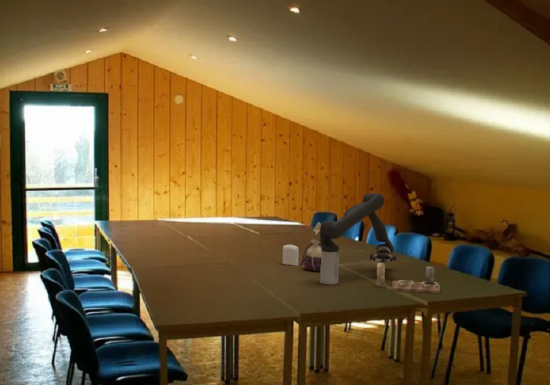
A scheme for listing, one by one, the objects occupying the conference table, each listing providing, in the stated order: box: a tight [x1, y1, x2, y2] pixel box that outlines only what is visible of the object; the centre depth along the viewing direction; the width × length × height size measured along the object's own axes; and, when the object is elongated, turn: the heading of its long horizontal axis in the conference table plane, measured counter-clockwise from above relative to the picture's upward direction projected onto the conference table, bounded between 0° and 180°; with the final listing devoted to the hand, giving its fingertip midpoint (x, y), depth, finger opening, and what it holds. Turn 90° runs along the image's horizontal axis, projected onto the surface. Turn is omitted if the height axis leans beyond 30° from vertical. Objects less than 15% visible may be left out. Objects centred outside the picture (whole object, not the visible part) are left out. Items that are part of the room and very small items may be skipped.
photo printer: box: [282, 244, 300, 267], centre depth 380 cm, size 10×4×12 cm, turn 60°
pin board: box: [391, 266, 441, 295], centre depth 319 cm, size 24×18×12 cm
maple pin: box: [376, 262, 386, 288], centre depth 323 cm, size 4×4×12 cm
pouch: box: [298, 238, 322, 273], centre depth 362 cm, size 25×8×19 cm, turn 52°
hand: (382, 259), depth 335 cm, fingers open, 8 cm apart
